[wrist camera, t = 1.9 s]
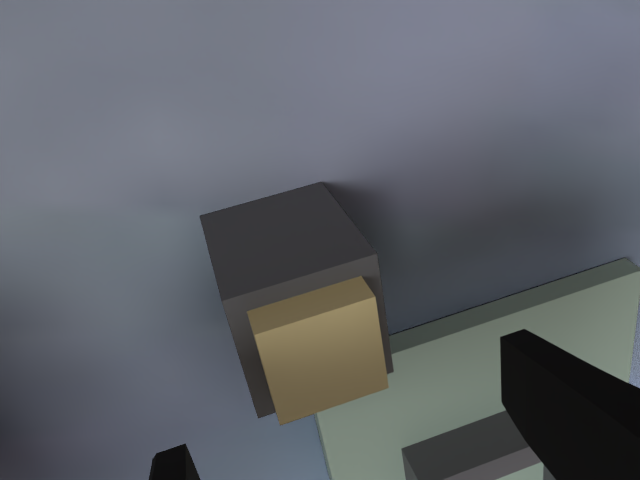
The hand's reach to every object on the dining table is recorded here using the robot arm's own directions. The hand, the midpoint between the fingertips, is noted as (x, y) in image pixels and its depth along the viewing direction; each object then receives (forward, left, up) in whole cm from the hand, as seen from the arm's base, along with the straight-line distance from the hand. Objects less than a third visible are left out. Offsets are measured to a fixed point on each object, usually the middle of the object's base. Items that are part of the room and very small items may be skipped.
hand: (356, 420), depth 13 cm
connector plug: (0, 0, -8) cm, 8 cm away
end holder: (+7, -14, -8) cm, 18 cm away
